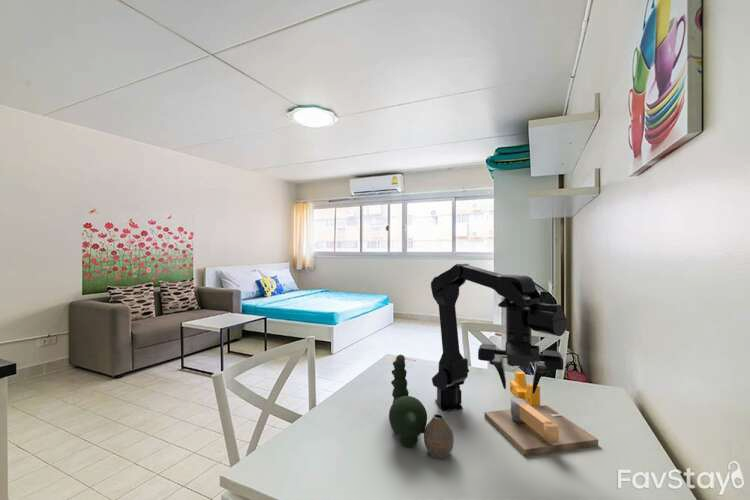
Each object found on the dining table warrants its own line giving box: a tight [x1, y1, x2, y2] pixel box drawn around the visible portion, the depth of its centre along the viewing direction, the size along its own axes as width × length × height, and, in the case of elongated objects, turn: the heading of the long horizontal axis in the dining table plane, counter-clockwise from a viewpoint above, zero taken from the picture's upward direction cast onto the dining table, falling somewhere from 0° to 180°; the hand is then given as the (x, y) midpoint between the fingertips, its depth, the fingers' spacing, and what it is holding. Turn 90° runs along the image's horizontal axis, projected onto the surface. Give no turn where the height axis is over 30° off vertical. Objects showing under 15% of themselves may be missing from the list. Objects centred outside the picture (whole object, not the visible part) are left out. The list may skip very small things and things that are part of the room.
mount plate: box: [484, 405, 599, 457], centre depth 88 cm, size 20×18×3 cm
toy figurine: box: [388, 354, 428, 448], centre depth 88 cm, size 9×19×25 cm
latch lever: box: [510, 397, 558, 443], centre depth 85 cm, size 16×4×4 cm, turn 11°
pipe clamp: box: [509, 371, 541, 407], centre depth 107 cm, size 12×4×6 cm, turn 0°
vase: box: [423, 413, 455, 459], centre depth 79 cm, size 7×7×9 cm
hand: (519, 390), depth 82 cm, fingers open, 6 cm apart
